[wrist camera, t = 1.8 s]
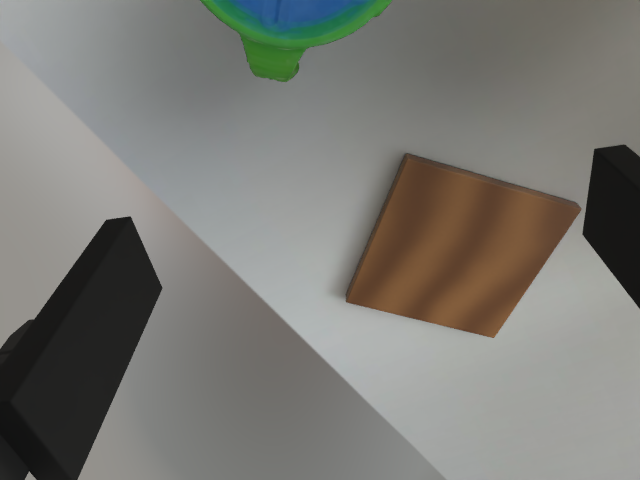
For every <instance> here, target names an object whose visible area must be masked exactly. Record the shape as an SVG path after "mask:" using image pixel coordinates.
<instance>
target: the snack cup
mask: <svg viewBox="0 0 640 480" xmlns="http://www.w3.org/2000/svg"><path fill="white" fill-rule="evenodd" d="M200 1H201V2H202V3H203V4H204V5H205V6H206V7H207V8H208V9H209V10H210V11H211V12H212V13H213V14H214V15H215V16H216V17H217V18H218V19H219V20H221V21H222V22H223V23H225V24H226V25H228V26H229V27H230V28H232V29H233V30H235V31H237V32H238V33H239V34H240V36H241V40H242V41H243V45H244V49H245V53H246V56H247V62H248V63H249V65H250V69H251V71H252V73H253V74H254V75H255V76H257V77H261V78H269V79H274V80H277V81H281V82H287V81H289V80H290V79H291V78H293V77H294V76H295V75H296V73H297V72H298V70H299V63H298V61H299V59H300V58H301V56H302V54H303V53H304V52H305V50H306V49H307V48H309V47H314V46H319V45H324V44H328V43H331V42H333V41H336V40H338V39H341V38H343V37H345V36H347V35H350V34H352V33H353V32H355V31H356V30H358V29H359V28H361V27H362V26H363V25H365V24H366V23H367V22H368V21H369V20H370V19H371V18H373V17H377V16H379V15H380V14H381V13H382V12H383V10H384V9H386V7H387V6H388V5H389V4H390V3H391V1H392V0H200Z"/></svg>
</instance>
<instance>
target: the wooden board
mask: <svg viewBox="0 0 640 480" xmlns="http://www.w3.org/2000/svg"><path fill="white" fill-rule="evenodd" d="M580 211H581V208H580V207H579V205H578V204H577V203H575V202H571V201H568V200H565V199H561V198H558V197H554V196H551V195H547V194H544V193H541V192H537V191H534V190H530V189H527V188H523V187H520V186H517V185H513V184H510V183H506V182H503V181H499V180H496V179H493V178H489V177H486V176H482V175H479V174H475V173H472V172H469V171H465V170H462V169H458V168H455V167H451V166H448V165H445V164H441V163H438V162H434V161H431V160H427V159H424V158H421V157H417V156H414V155H410V154H405V156H404V159H403V161H402V163H401V166H400V168H399V170H398V173H397V175H396V177H395V180H394V182H393V185H392V187H391V189H390V192H389V194H388V196H387V199H386V201H385V203H384V206H383V208H382V211H381V213H380V215H379V218H378V220H377V222H376V225H375V227H374V229H373V232H372V234H371V237H370V239H369V241H368V244H367V246H366V248H365V251H364V253H363V255H362V258H361V260H360V263H359V265H358V267H357V270H356V272H355V274H354V277H353V279H352V281H351V284H350V286H349V289H348V291H347V293H346V302H347V303H351V304H356V305H360V306H364V307H368V308H372V309H376V310H380V311H384V312H389V313H393V314H397V315H401V316H405V317H409V318H413V319H417V320H422V321H426V322H430V323H434V324H438V325H442V326H446V327H450V328H454V329H459V330H463V331H467V332H471V333H475V334H479V335H483V336H487V337H492V338H494V337H495V336H496V334H497V333H498V331H499V330H500V328H501V327H502V325H503V324H504V323H505V321H506V320H507V318H508V317H509V315H510V314H511V312H512V311H513V309H514V308H515V306H516V305H517V303H518V302H519V301H520V299H521V298H522V296H523V295H524V293H525V292H526V290H527V289H528V287H529V286H530V284H531V283H532V281H533V280H534V279H535V277H536V276H537V274H538V273H539V271H540V270H541V268H542V267H543V265H544V264H545V262H546V261H547V259H548V258H549V257H550V255H551V254H552V252H553V251H554V249H555V248H556V246H557V245H558V243H559V242H560V240H561V239H562V237H563V236H564V235H565V233H566V232H567V230H568V229H569V227H570V226H571V224H572V223H573V221H574V220H575V218H576V217H577V215H578V214H579V213H580Z"/></svg>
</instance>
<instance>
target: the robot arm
mask: <svg viewBox="0 0 640 480" xmlns="http://www.w3.org/2000/svg"><path fill="white" fill-rule="evenodd" d="M582 235H583V236H584V237H585V238H586V240H587V241H588V242H589V244H590V245H591V246H592V247H593V249H594V250H595V251H596V253H597V254H598V255H599V257H600V258H601V259H602V260H603V262H604V263H605V264H606V266H607V267H608V268H609V270H610V271H611V272H612V273H613V275H614V276H615V277H616V279H617V280H618V281H619V282H620V284H621V285H622V286H623V288H624V289H625V290H626V292H627V293H628V294H629V295H630V297H631V298H632V299H633V301H634V302H635V303H636V304H637V306H638V307H639V308H640V157H639V156H638V155H637V154H636V153H634V152H633V151H632V150H631V149H629V148H628V147H627V146H626V145H618V146H611V147H604V148H598V149H594V155H593V163H592V170H591V177H590V184H589V191H588V198H587V206H586V213H585V220H584V227H583V234H582ZM161 290H162V286H161V284H160V281H159V279H158V277H157V275H156V273H155V270H154V268H153V266H152V263H151V261H150V259H149V257H148V254H147V252H146V250H145V248H144V245H143V243H142V241H141V239H140V237H139V234H138V232H137V230H136V227H135V225H134V223H133V221H132V218H131V217H123V218H116V219H110V220H106V221H105V222H104V224H103V225H102V226H101V228H100V229H99V231H98V232H97V234H96V235H95V236H94V238H93V239H92V240H91V242H90V243H89V245H88V246H87V247H86V249H85V250H84V252H83V253H82V254H81V256H80V257H79V259H78V260H77V261H76V262H75V264H74V265H73V267H72V268H71V269H70V271H69V272H68V274H67V275H66V277H65V278H64V279H63V280H62V282H61V283H60V285H59V286H58V287H57V289H56V290H55V292H54V293H53V294H52V296H51V297H50V299H49V300H48V301H47V303H46V304H45V306H44V307H43V308H42V310H41V311H40V313H39V314H38V315H37V317H36V318H35V319H34V320H28V321H27V322H26V323H25V324H24V325H22V326H21V327H20V328H19V329H18V330H16V331H15V332H14V333H13V334H12V335H11V336H10V337H9V338H8V339H7V341H6V342H5V344H4V345H3V346H2V348H1V349H0V480H25V478H26V476H27V474H28V472H29V471H30V473H31V474H32V475H33V476H34V477H35V478H36V479H37V480H77V479H78V477H79V475H80V472H81V470H82V468H83V465H84V464H85V461H86V459H87V457H88V454H89V452H90V450H91V448H92V445H93V443H94V441H95V439H96V437H97V434H98V432H99V430H100V427H101V425H102V423H103V421H104V418H105V416H106V414H107V412H108V409H109V407H110V405H111V403H112V401H113V398H114V396H115V394H116V391H117V389H118V387H119V385H120V382H121V380H122V378H123V376H124V373H125V371H126V369H127V367H128V365H129V362H130V360H131V358H132V355H133V353H134V351H135V348H136V346H137V344H138V342H139V340H140V337H141V335H142V333H143V331H144V328H145V326H146V324H147V322H148V319H149V317H150V315H151V313H152V310H153V308H154V306H155V304H156V301H157V299H158V297H159V295H160V292H161Z"/></svg>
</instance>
